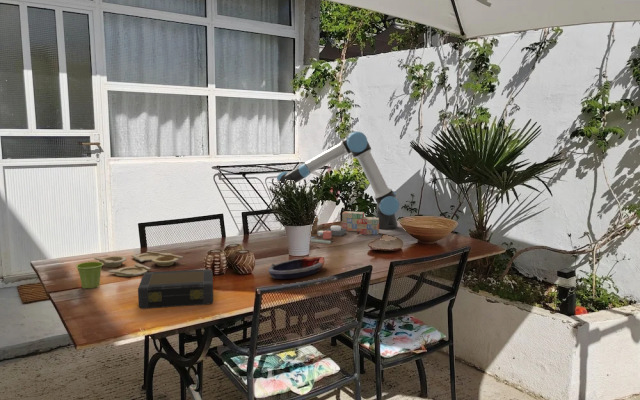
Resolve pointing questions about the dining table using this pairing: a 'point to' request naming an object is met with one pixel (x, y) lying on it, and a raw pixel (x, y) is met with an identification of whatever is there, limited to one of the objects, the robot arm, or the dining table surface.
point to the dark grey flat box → (176, 288)
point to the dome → (336, 228)
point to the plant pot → (90, 274)
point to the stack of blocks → (360, 223)
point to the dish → (296, 268)
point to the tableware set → (138, 268)
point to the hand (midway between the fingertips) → (306, 223)
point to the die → (327, 234)
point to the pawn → (314, 228)
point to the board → (334, 233)
